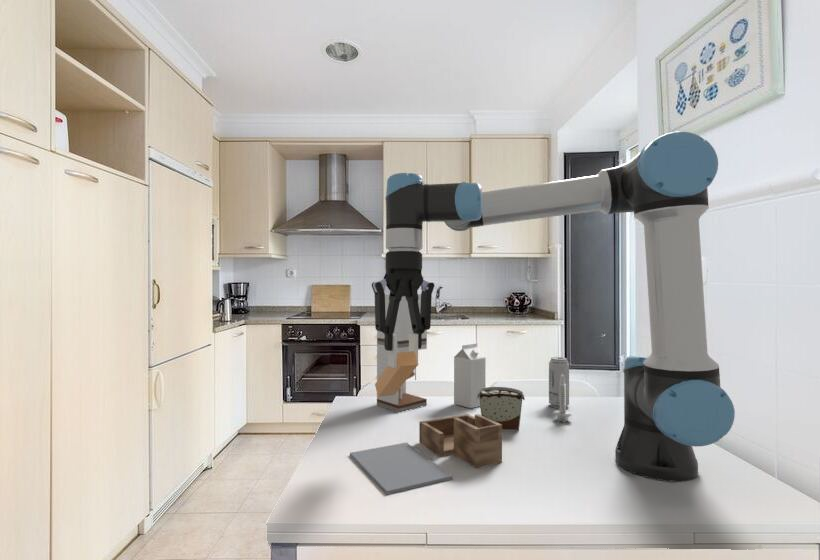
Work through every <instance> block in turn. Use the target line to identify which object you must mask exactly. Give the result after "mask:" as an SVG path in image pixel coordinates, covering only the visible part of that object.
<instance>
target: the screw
mask: <svg viewBox="0 0 820 560" xmlns="http://www.w3.org/2000/svg"><path fill="white" fill-rule="evenodd" d="M565 385H566V384H565V375H563V374H562V375H561V377H560V395H559V396H560V397H559V398H560V399H559V400H560V401H559V402H560V408H559V409H555V410H553V415H555V416H556V417H557V421H558V420H559V421H558V422H561V421H562V423H566V421H567V422H569V417H571V416H572V415H573V414H572V412H570V411H569V410H567V408H566V386H565Z"/></svg>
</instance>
